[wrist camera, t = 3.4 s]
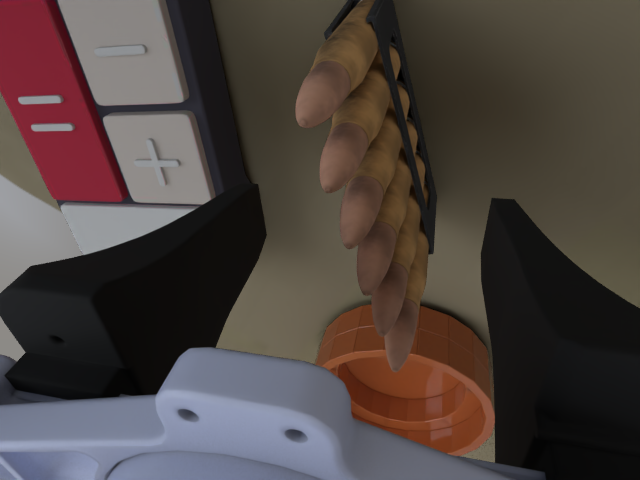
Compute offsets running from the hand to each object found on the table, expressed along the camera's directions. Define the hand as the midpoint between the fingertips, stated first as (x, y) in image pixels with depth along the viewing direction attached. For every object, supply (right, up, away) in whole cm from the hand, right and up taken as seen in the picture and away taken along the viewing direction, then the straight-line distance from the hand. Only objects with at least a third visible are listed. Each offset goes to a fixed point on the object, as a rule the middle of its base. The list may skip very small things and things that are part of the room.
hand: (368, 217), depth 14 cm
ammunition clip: (+2, +6, +8) cm, 10 cm away
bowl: (+5, -9, +19) cm, 21 cm away
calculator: (-11, +6, +12) cm, 17 cm away
